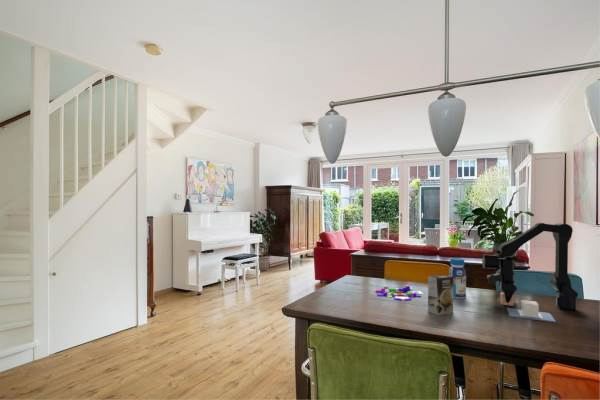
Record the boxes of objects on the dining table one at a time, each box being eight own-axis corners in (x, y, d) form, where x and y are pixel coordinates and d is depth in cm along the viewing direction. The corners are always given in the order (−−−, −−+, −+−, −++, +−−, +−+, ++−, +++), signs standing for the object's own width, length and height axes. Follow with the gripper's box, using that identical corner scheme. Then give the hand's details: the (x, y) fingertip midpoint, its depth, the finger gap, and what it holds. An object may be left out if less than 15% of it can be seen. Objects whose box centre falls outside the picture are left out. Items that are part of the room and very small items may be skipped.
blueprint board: (549, 314, 144) (549, 312, 144) (556, 322, 133) (556, 321, 133) (506, 308, 151) (506, 307, 151) (509, 316, 141) (509, 315, 141)
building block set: (380, 300, 165) (380, 292, 165) (374, 290, 186) (374, 282, 186) (430, 302, 163) (430, 293, 163) (418, 291, 184) (418, 283, 184)
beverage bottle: (450, 293, 178) (450, 257, 178) (467, 296, 173) (467, 258, 173) (447, 297, 171) (446, 259, 171) (464, 300, 166) (464, 260, 166)
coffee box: (438, 315, 141) (438, 278, 142) (427, 311, 147) (427, 275, 147) (454, 313, 145) (453, 276, 145) (442, 309, 151) (442, 273, 151)
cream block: (536, 313, 144) (536, 301, 144) (538, 316, 139) (538, 304, 139) (521, 311, 146) (521, 300, 146) (523, 314, 141) (523, 303, 141)
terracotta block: (512, 303, 161) (512, 292, 161) (513, 305, 156) (513, 295, 157) (500, 301, 163) (500, 291, 163) (501, 304, 159) (501, 294, 159)
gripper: (486, 264, 172) (487, 294, 172) (488, 270, 156) (489, 303, 155) (511, 266, 167) (512, 297, 167) (516, 273, 151) (517, 307, 150)
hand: (506, 301), depth 160 cm, fingers closed on terracotta block, 5 cm apart
